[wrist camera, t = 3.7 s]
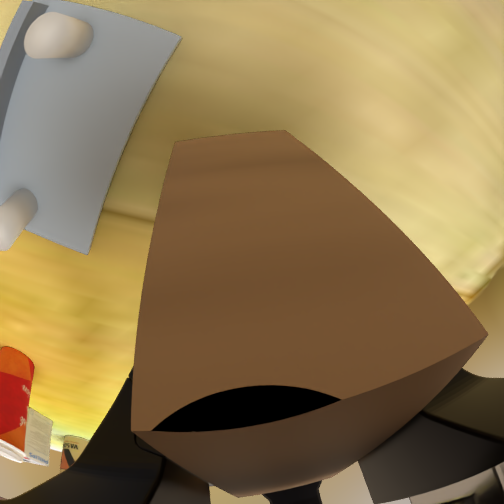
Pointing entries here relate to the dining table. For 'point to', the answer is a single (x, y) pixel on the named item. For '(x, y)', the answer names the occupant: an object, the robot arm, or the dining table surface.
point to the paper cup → (14, 401)
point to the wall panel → (69, 113)
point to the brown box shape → (283, 318)
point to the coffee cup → (71, 450)
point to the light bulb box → (37, 438)
